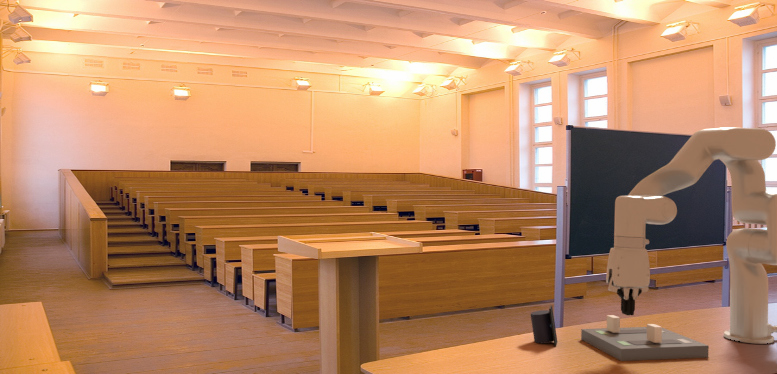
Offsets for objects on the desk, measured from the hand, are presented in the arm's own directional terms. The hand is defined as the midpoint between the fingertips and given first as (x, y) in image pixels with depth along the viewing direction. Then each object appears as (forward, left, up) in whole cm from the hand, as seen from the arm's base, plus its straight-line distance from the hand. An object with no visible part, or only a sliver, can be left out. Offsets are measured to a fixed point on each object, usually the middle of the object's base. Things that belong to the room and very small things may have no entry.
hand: (627, 314), depth 165 cm
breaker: (-3, -12, -7) cm, 14 cm away
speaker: (+16, -15, -11) cm, 25 cm away
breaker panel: (-8, -6, -11) cm, 14 cm away
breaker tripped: (-8, 0, -7) cm, 10 cm away
